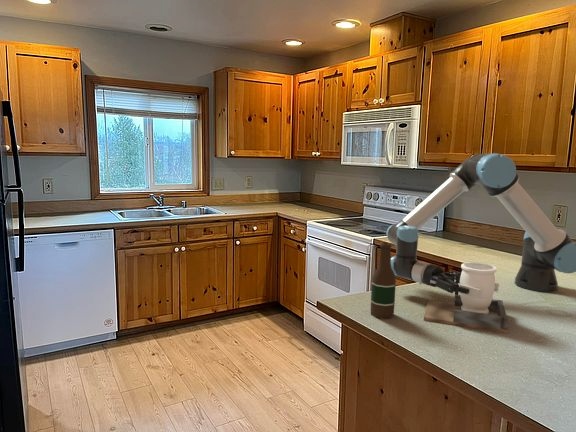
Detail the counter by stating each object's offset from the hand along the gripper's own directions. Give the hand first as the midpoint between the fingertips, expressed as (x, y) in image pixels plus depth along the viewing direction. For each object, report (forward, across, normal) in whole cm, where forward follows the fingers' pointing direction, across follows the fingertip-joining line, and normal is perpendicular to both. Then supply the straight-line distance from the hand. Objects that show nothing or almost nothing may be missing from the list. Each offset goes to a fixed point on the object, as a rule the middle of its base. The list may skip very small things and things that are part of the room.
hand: (489, 290), depth 132 cm
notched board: (-7, +2, -10) cm, 13 cm away
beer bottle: (-24, +22, -11) cm, 34 cm away
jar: (-4, 0, -8) cm, 9 cm away
